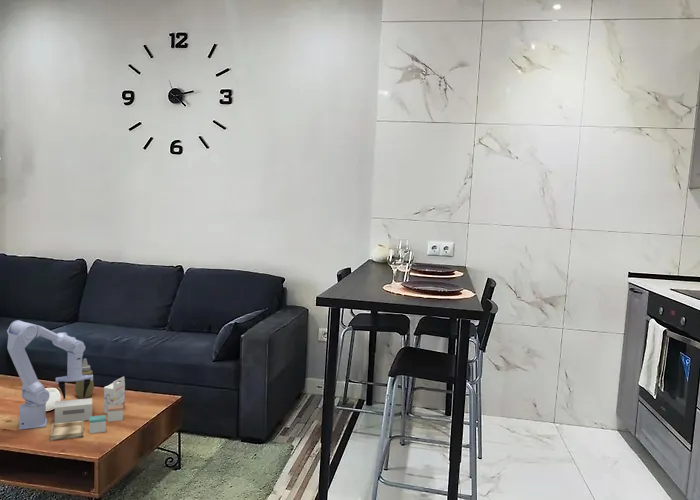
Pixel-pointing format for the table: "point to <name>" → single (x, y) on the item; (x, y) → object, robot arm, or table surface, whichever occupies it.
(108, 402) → the ink cartridge box
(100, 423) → the small white teal box
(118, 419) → the light grey block
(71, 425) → the oak tray
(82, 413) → the printer unit
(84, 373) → the squeeze bottle
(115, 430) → the table surface
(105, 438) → the table surface
